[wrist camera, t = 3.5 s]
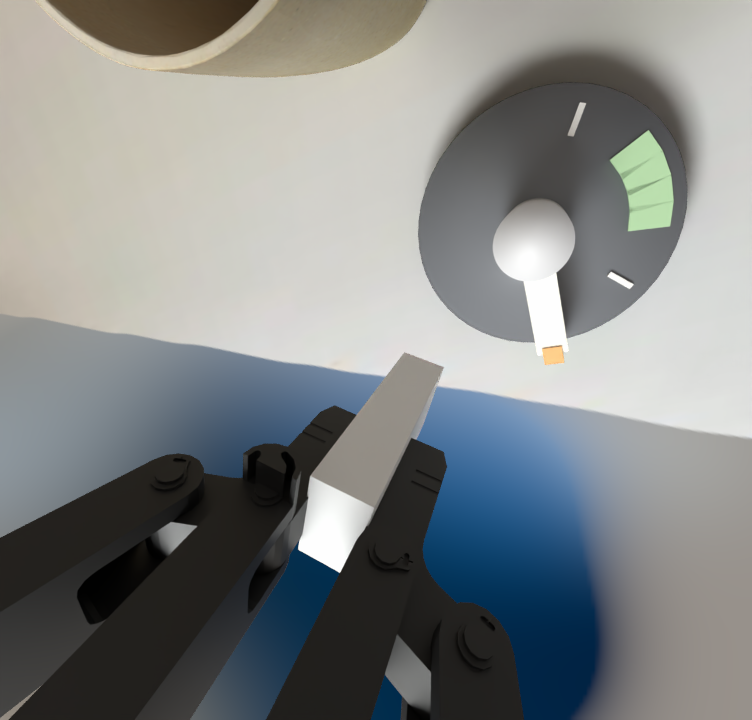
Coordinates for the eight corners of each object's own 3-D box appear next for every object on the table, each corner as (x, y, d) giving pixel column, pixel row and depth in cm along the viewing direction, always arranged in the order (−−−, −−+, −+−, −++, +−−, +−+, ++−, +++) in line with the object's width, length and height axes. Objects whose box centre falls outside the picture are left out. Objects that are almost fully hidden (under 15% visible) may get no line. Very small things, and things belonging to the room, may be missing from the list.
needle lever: (495, 210, 21) (485, 217, 17) (564, 188, 19) (569, 190, 16) (523, 348, 24) (519, 379, 20) (585, 339, 22) (593, 371, 19)
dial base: (739, 112, 17) (761, 105, 16) (599, 358, 25) (604, 372, 23) (458, 73, 21) (450, 64, 19) (407, 298, 28) (398, 307, 26)
